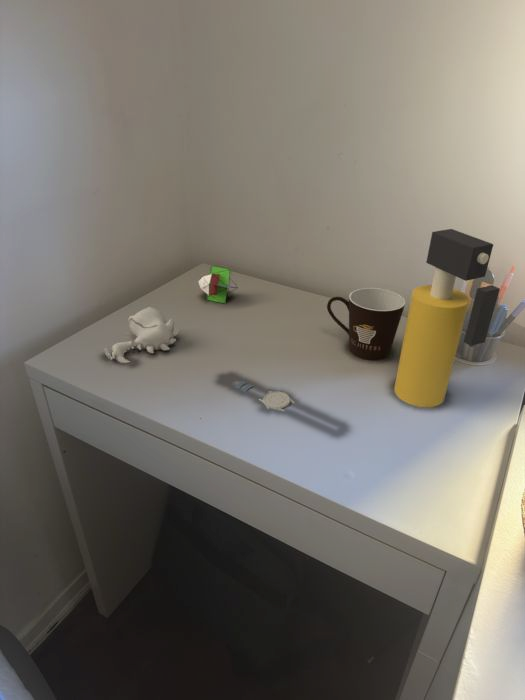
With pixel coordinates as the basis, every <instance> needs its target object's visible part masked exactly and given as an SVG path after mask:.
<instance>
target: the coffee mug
mask: <svg viewBox="0 0 525 700" xmlns="http://www.w3.org/2000/svg"><path fill="white" fill-rule="evenodd" d="M336 301H338V302H342V303H343V304H344V305H345V307H346V308H347V310H348V327H347V326H346V325H345V324H344V323H343V322H341V320H339V319H338V318H337V317H336V316H335V314H334V312H333V310H332V307H331V306H332V303H333V302H336ZM405 306H406V300H405V298H404V296H402V295H400V294H399V293H397V292H395V291H392V290H389V289H385V288H379V287H362V288H358V289H355V290H352V291H351V292H350V293H349V295H348V300H347V299H346V298H344V297H343V296H333V297H331V298H330V299H329V300H328V302H327V303H326V309H327V312H328V314H329V316H330V317H331V318H332V320H333V321H334V322H335V323H336V325H338V326H339V327H340V328H341V329H342V330H343V331H344V332H345V333H347V335H348V350H349V352H350V353H351V355H353V356H354V357H356V358H358V359H361V360H365V361H370V362H371V361H373V362H374V361H381V360H385V359H386V358H388V357H389V356H390V353H391V351H392V347H393V344H394V341H395V337H396V335H397V332H398V329H399V325H400V322H401V318H402V315H403V312H404V308H405Z"/></svg>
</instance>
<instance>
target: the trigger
mask: <svg viewBox="0 0 525 700" xmlns="http://www.w3.org/2000/svg"><path fill="white" fill-rule="evenodd" d="M500 291H501V288H500V287H497V286H495V285H493V284H490V285H486V286H482V287H477V288H476V292H475V296H474V300H473V303H472V307H471V312H470V315H469V319H468V322H467V325H466V326H467V327H466V330H465V335H464V339H463V343H464V344H467V345H468V346H470V347H473V346H477V345H480V344H483V343H485V342H486V339H487V335H488V332H489V330H490V329H489V328H490V325H491V321H492V318H493V315H494V311H495V308H496V304H497V301H498V298H499V295H500Z"/></svg>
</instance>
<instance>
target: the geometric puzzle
mask: <svg viewBox="0 0 525 700" xmlns="http://www.w3.org/2000/svg"><path fill="white" fill-rule="evenodd" d="M209 269H210V270H209ZM209 269H208V270H209V274H207V275H205V274H204V275H202V276H201V278H200V279H199V280H198V281H197V283H198V286H199V288H200V290H201V291H202V292H203V293H204V294H206V298H205V300H207V301H212V302H216V303H220V304H224V305H226V303H227V301H228V300H229V299H227V298H228V294H229V293H230V292H233V291H236V290H238V289H239V287H238V284H237V283H236V282H234V281H232V283H233V284H234V285H235V286H232V285H229V284H230V282H231V274H233V273H232V271H231V268H225V267H219V266H213V265H210V268H209ZM208 270H207V271H208ZM229 289H232V290H230V291H229ZM232 295H233V294H231V296H230V297H232Z"/></svg>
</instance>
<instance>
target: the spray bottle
mask: <svg viewBox="0 0 525 700" xmlns="http://www.w3.org/2000/svg"><path fill="white" fill-rule="evenodd" d="M493 247H494V243H492V242H489V241H486V240H483V239H480V238H478V237H475V236H472V235H469V234H466V233H464V232H461V231H459V230H456V229H453V228H447V229H442V230H435V231H431V236H430V242H429V246H428V252H427V256H426V264H428V265H430V266H433V267H434V268H435V269H434V273H433V277H432V278H433V279H432V283H431V284H428V285H421V286H417V287H415V288H413V290H412V293H411V298H410V304H409V308H408V314H407V319H406V325H405V329H404V330H405V331H404V335H403V340H402V346H401V351H400V356H399V361H398V368H397V372H396V377H395V383H394V389H393V390H394V394H395V395H396V397H398V399H400V400H401V401H403V402H405V403H406V404H409V405H411V406H414V407H419V408H433V407H437V406H440V405H442V404H443V402H444V401H445V399H446V394H447V391H448V385H449V382H450V380H451V379H450V378H451V374H452V371H453V367H454V363H455V359H456V354H457V351H458V347H459V344H460V339H461V335H462V331H463V328H464V323H465V320H466V316H467V312H468V308H469V304H470V298H469V296H468V295H467V294H466V293H464V292H462V291H460V290H458V289H456V288H454V287H455V283H456V278H458V279H460V280H463V281H465V282H468V281H472V280H477V279H481V278H485V277H486V274H487V270H488V266H489V263H490V259H491V257H492V251H493Z"/></svg>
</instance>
